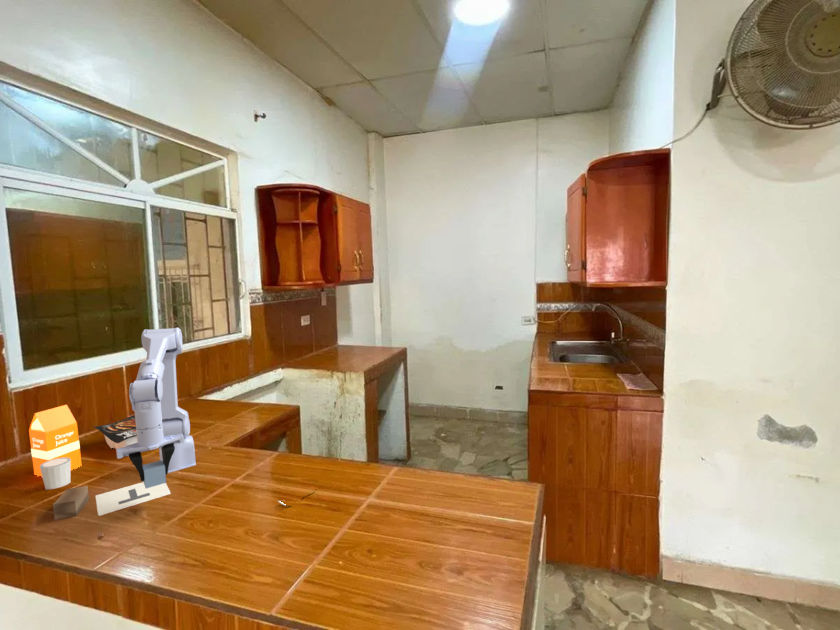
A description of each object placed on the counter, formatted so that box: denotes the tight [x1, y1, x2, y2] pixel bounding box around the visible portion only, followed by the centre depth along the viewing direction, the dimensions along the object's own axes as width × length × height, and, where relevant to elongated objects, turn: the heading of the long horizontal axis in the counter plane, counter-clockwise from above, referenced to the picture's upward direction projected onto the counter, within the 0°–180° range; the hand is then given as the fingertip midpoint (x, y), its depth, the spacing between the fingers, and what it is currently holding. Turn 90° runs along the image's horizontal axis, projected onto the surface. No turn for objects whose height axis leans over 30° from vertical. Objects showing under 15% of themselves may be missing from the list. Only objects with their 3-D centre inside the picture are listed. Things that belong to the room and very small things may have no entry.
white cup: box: [40, 457, 72, 491], centre depth 123 cm, size 7×7×7 cm
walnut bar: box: [52, 485, 90, 521], centre depth 109 cm, size 4×8×4 cm, turn 20°
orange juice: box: [28, 404, 83, 478], centre depth 131 cm, size 8×9×20 cm
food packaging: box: [93, 414, 173, 457], centre depth 153 cm, size 25×8×23 cm
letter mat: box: [95, 481, 172, 517], centre depth 116 cm, size 16×13×1 cm
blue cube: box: [142, 460, 167, 488], centre depth 110 cm, size 4×4×4 cm
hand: (154, 476), depth 110 cm, fingers closed on blue cube, 4 cm apart
